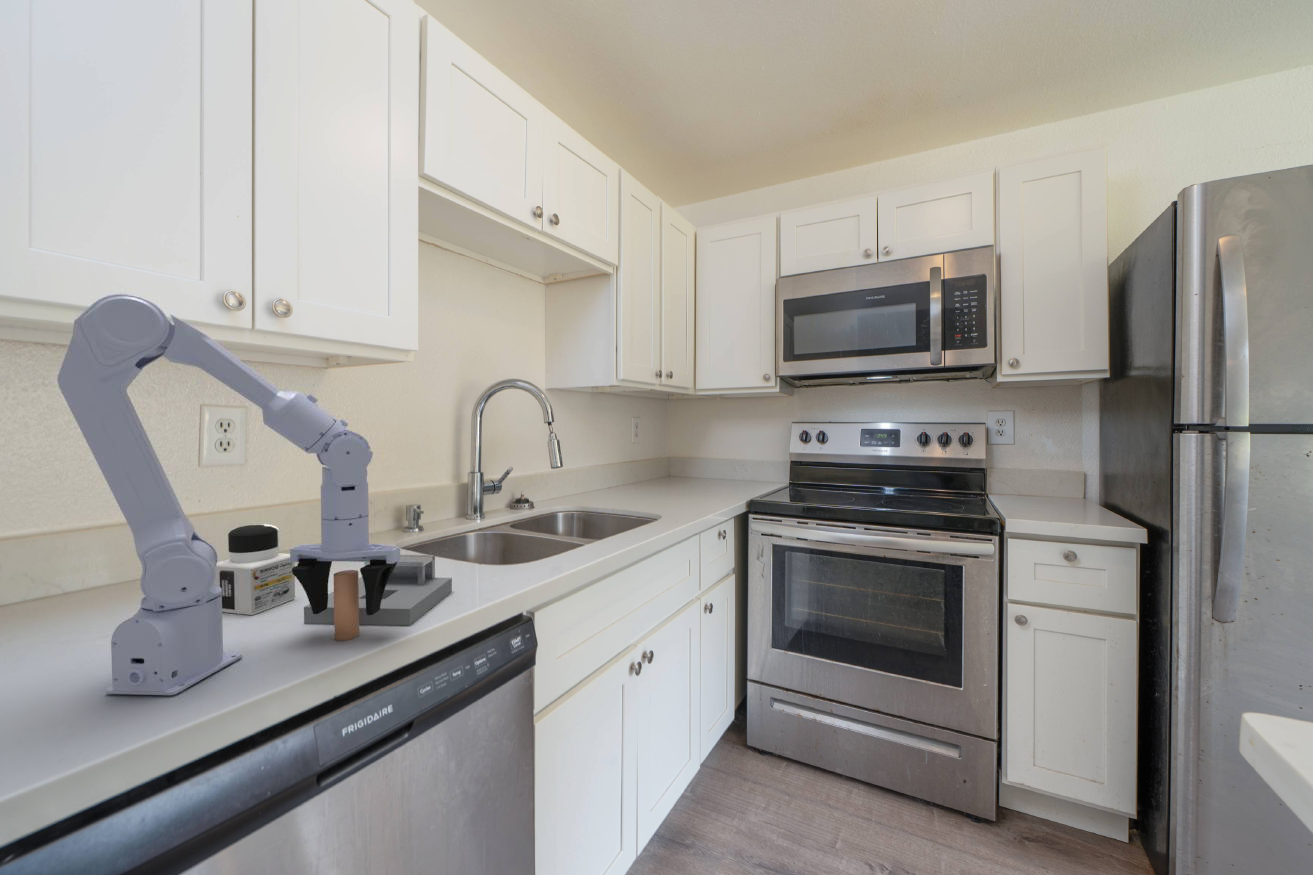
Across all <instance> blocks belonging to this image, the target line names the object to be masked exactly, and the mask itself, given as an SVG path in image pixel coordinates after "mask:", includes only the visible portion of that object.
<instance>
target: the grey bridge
mask: <svg viewBox="0 0 1313 875" xmlns="http://www.w3.org/2000/svg"><path fill="white" fill-rule="evenodd" d="M363 563H364V564H363V565H364V566H366V565H368V564H370V562H363ZM434 578H436V555H435V554H400V560H399V561H397V564H396V566H395V568H394V570H393V571H392V573H391V575H390V577H389V579H418V585H421V586H423V585H424V584H425V579H434Z"/></svg>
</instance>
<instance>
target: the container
mask: <svg viewBox="0 0 1313 875" xmlns="http://www.w3.org/2000/svg"><path fill="white" fill-rule="evenodd" d="M227 535H228V536H227V538H228V539H227V540H228V542H227V544H228V557H229V559H225V560H221V561H217V564H216V567H215V580H214V584H215V585H217V586H219V587H220V588H221V589H222V613H226V614H227V613H229V614H235V615H236V614H238V615H246V616H255V615H257V614H259V613H260V614H261V613H262V612H264V611H265V612H266V611H268V610H270V609H273V608H275V607H278V606H280V605H282V604H286V603H288V602H291V601H294V600H295V598H296V577H295V576H294V575H293V573H292V568H293V567H295V562H290V553H282V552H281V553H280V552H279V551H280V528H279V527H277V525H273V524H268V523H264V524H261V523H258V524H249V525H243V526H238V527H236V528H234V529H232V530H230V531H229V532H228V534H227Z"/></svg>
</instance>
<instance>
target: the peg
mask: <svg viewBox="0 0 1313 875" xmlns="http://www.w3.org/2000/svg"><path fill="white" fill-rule="evenodd" d="M358 579H359V571H358V570H357V569H347V570H341V571H337V572H335V573H333V592H334V624H333V625H334V626H333V628H334V630H333V631H334V640H335V641H340V642H341V641H343V642H344V641H349V640H353V639H355V638H357V637H359V636H360V625H359V582H358Z"/></svg>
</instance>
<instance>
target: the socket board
mask: <svg viewBox="0 0 1313 875" xmlns="http://www.w3.org/2000/svg"><path fill="white" fill-rule="evenodd" d="M358 582H359V626H361V625H363V626H367V625H368V626H369V625H370V626H373V625H374V626H411V625H412V624H413V623H415V622H416V621H417V620H418V619H420V618H422V616H424V615H425V614H426V613H427V612H429V611H430V610H431V609H432V608H433V607H435V606H436V605H437V604H438V603H440V602H441V601H442V600H443V599H445V598H446V597H447V596H448V595H450V594H451V593H452V592H453V579H452V577H435V578H434V579H425V584H424V585H423V586H421V585H418V579H389V580H388V582H387V584H386V587H385V590H384V593H383V597H382V601H381V605H380V610H379V611H378V612H376V613H375V614H373V615H367V612H366V593H365V586H364V581H363V578H362V576H361V577H358ZM303 624H307V625H311V624H312V625H314V624H315V625H320V624H321V625H334V591H331V592H330V593H328V605H327V609H326V610H324V611H322V612H321V613H319V614H313V612H312V609H311V605H310V603H309V604H307V605H305V606H304V607H303Z"/></svg>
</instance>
